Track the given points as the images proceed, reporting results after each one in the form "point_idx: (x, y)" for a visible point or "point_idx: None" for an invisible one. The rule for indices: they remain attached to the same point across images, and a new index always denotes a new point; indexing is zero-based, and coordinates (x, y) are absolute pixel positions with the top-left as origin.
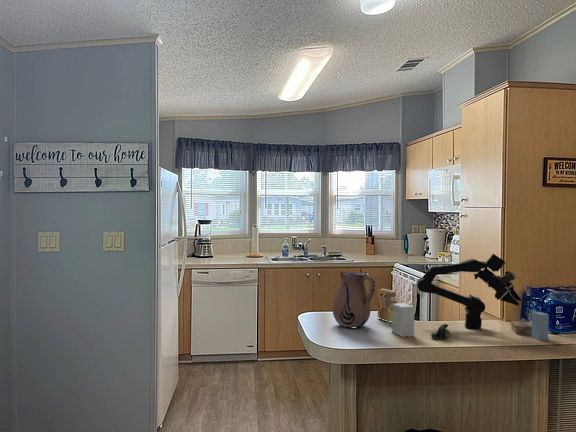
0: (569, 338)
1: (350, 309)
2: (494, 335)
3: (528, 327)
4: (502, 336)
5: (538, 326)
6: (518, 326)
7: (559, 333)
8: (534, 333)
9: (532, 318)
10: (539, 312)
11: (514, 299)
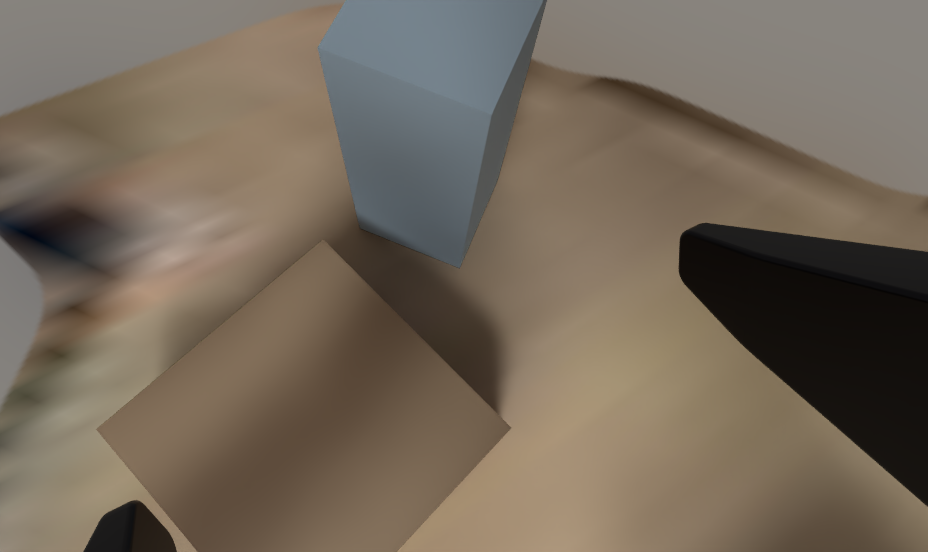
0: (151, 76)
1: None
2: (796, 501)
3: (398, 316)
4: (738, 429)
5: (517, 103)
6: (484, 403)
7: (10, 213)
8: (482, 207)
9: (484, 160)
10: (377, 51)
11: (900, 257)
